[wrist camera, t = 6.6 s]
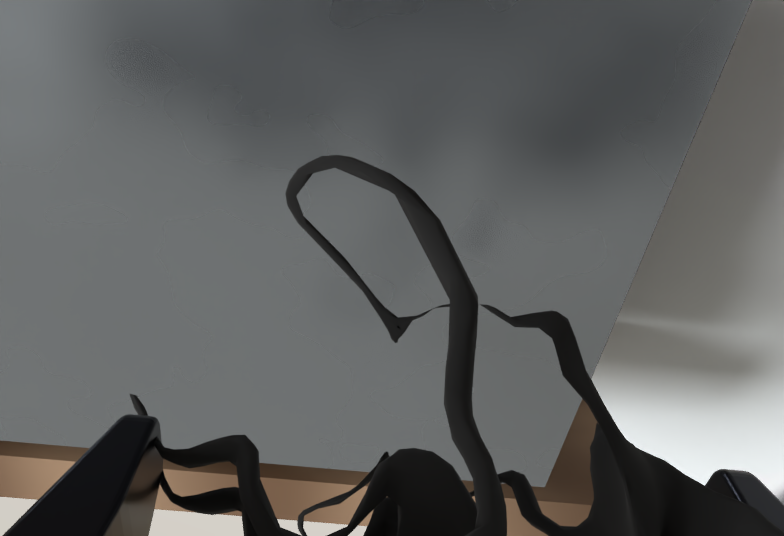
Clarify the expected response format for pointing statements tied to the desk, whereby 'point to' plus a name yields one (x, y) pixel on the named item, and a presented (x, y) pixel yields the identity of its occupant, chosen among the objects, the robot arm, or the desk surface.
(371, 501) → the creature
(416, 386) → the trapdoor
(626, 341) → the desk surface
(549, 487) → the wooden stand
